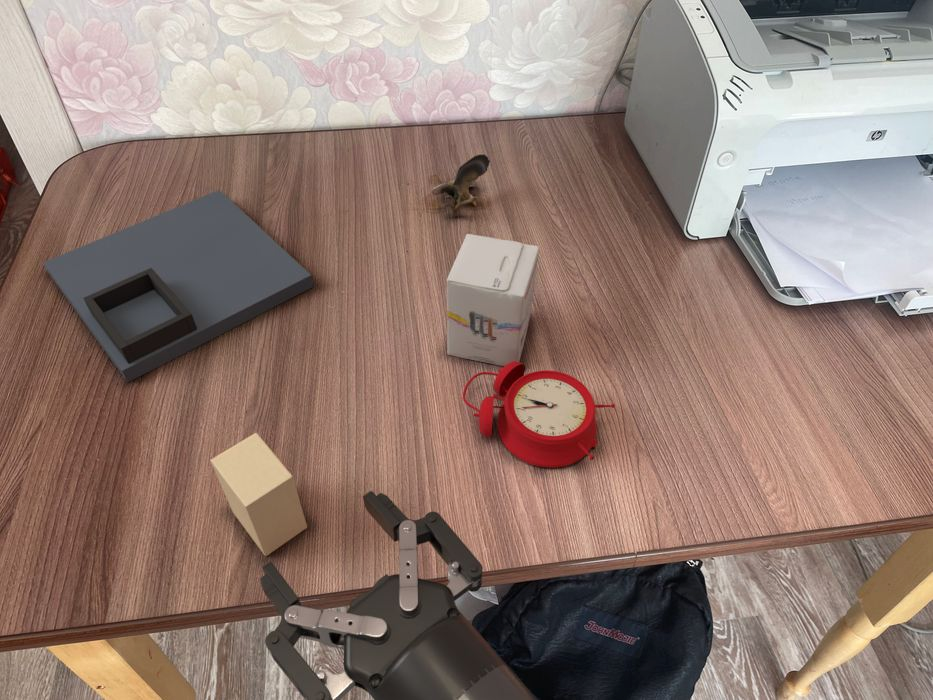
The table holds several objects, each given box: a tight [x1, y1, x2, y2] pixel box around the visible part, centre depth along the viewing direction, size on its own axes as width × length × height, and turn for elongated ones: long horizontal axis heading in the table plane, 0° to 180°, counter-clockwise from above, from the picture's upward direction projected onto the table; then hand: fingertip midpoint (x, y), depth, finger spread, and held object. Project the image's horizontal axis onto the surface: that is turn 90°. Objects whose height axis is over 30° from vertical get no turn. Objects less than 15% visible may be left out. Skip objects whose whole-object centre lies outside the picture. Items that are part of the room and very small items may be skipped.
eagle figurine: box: [431, 153, 491, 218], centre depth 99 cm, size 8×7×9 cm
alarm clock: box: [462, 361, 616, 469], centre depth 74 cm, size 10×6×15 cm
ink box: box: [446, 233, 540, 367], centre depth 79 cm, size 9×9×12 cm
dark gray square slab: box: [42, 189, 314, 383], centre depth 87 cm, size 24×23×4 cm
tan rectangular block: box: [210, 432, 308, 557], centre depth 64 cm, size 4×6×9 cm
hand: (319, 532), depth 51 cm, fingers open, 8 cm apart
